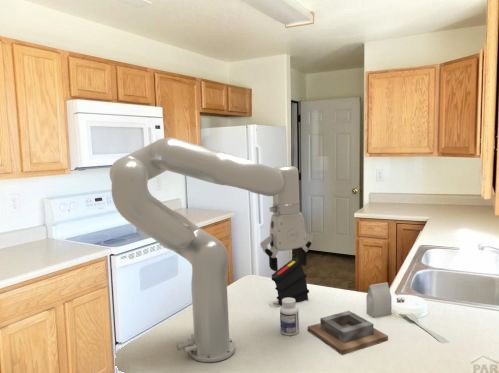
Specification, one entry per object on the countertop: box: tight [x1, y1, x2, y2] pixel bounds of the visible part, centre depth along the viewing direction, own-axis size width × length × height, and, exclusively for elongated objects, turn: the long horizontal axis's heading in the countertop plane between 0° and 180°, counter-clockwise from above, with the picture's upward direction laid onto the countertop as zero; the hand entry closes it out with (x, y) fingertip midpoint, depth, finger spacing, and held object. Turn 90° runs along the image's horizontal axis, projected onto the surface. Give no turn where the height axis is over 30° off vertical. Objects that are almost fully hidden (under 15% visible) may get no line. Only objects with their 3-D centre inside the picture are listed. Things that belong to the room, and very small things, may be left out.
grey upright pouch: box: [365, 281, 392, 319], centre depth 127 cm, size 4×7×10 cm, turn 109°
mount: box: [307, 310, 389, 356], centre depth 114 cm, size 16×16×4 cm
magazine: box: [270, 257, 310, 306], centre depth 140 cm, size 4×13×15 cm, turn 117°
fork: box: [401, 312, 450, 344], centre depth 118 cm, size 3×21×3 cm, turn 15°
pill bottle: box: [279, 298, 300, 336], centre depth 118 cm, size 5×5×10 cm
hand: (288, 267), depth 116 cm, fingers open, 9 cm apart
